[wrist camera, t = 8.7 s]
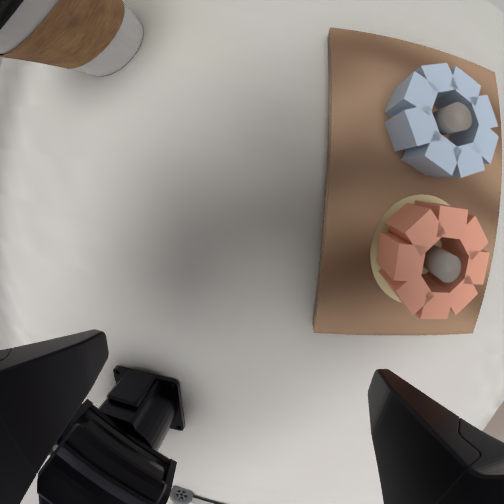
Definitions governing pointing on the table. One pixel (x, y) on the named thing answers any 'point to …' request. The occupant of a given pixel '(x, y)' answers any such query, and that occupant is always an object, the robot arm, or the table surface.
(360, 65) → the gear board
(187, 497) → the phone holder
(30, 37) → the coffee cup
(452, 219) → the gear
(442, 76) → the gear
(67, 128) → the table surface
